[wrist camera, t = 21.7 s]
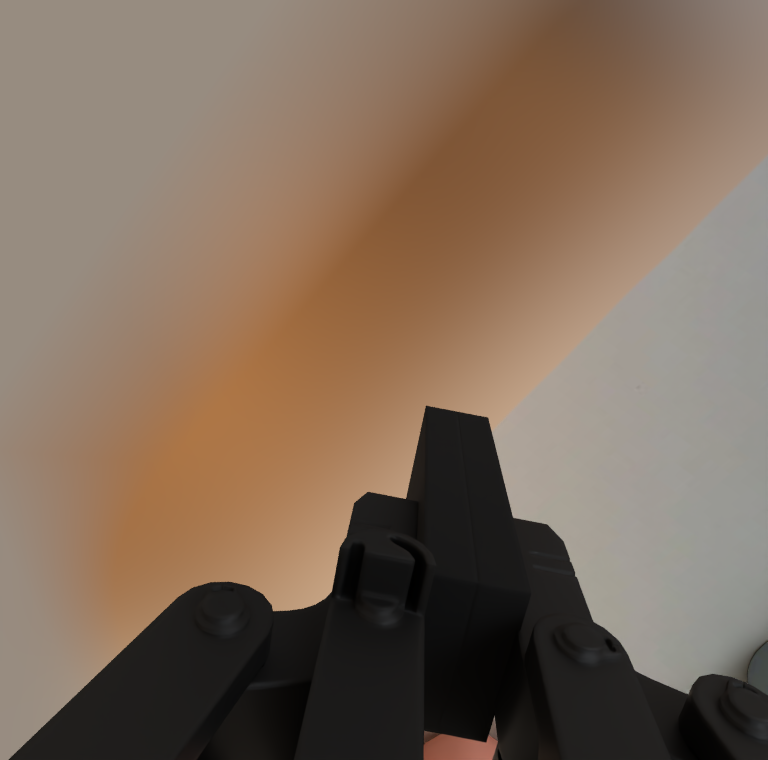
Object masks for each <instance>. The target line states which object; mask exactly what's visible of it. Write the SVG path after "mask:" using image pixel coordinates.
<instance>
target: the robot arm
mask: <svg viewBox="0 0 768 760" xmlns="http://www.w3.org/2000/svg"><path fill="white" fill-rule="evenodd" d="M494 715H495V722H496V730H497V738H498V743H497V746H496V749H495V753H494V756H493V759H492V760H768V695H766V694H765V693H763V692H762V691H760V690H759V689H757V688H756V687H754V686H752V685H750V684H748V683H746V682H742V681H740V680H738V679H735V678H733V677H728V676H722V675H716V674H711V675H706V676H701V677H699V678H698V679H697V680H696V682H695V683H694V684H693V685H692V687H691V690H690V692H689V694H685V693H683V692H681V691H678V690H676V689H674V688H671V687H669V686H666V685H664V684H662V683H659V682H657V681H655V680H652V679H650V678H648V677H646V676H644V675H642V674H640V673H638V672H636V671H635V670H634V668H633V666H632V663H631V661H630V659H629V656H628V654H627V653H626V651H625V649H624V648H623V646H622V645H621V643H620V642H619V641H618V640H617V639H616V638H615V637H614V636H613V635H612V634H610V633H609V632H608V631H607V630H606V629H605V628H603V627H601V626H599V625H597V624H596V623H594V622H593V620H592V617H591V614H590V612H589V609H588V606H587V604H586V601H585V598H584V596H583V593H582V590H581V588H580V585H579V582H578V579H577V577H575V571H574V569H573V566H572V563H571V562H570V558H569V555H568V552H567V550H566V547H565V544H564V542H563V541H562V539H561V538H560V537H559V536H558V535H557V534H556V533H555V532H554V531H553V530H552V529H551V528H550V527H549V526H548V525H547V524H542V523H537V522H532V521H526V520H521V519H516V518H513V516H512V512H511V508H510V504H509V500H508V496H507V492H506V488H505V484H504V480H503V476H502V472H501V468H500V464H499V460H498V456H497V452H496V448H495V444H494V440H493V436H492V431H491V428H490V424H489V419H488V418H487V417H482V416H477V415H472V414H466V413H461V412H455V411H450V410H446V409H440V408H435V407H430V406H426V408H425V413H424V418H423V422H422V427H421V432H420V436H419V441H418V446H417V450H416V455H415V460H414V465H413V469H412V474H411V479H410V483H409V488H408V493H407V498H406V499H403V498H397V497H392V496H387V495H382V494H376V493H371V492H367V493H366V494H365V495H364V496H362V497H361V498H360V499H359V500H358V501H356V502H355V503H354V507H353V511H352V515H351V520H350V525H349V529H348V533H347V537H346V539H345V540H344V542H343V543H342V545H341V547H340V551H339V556H338V562H337V567H336V573H335V578H334V584H333V589H332V592H331V593H330V594H329V595H328V596H327V598H326V599H324V600H322V601H321V602H319V603H317V604H316V605H313V606H310V607H307V608H304V609H298V610H290V611H273V610H272V605H271V604H270V603H269V602H268V600H267V599H266V598H265V596H264V595H263V594H261V593H260V592H258V591H256V590H254V589H253V588H250V587H249V586H246V585H242V584H237V583H233V582H210V583H207V584H204V585H201V586H197V587H193V588H191V589H190V590H189V591H187V592H186V593H184V594H182V595H181V596H179V597H178V598H177V599H176V600H175V601H174V602H173V603H172V604H170V606H169V607H167V609H165V610H164V611H163V612H162V613H161V614H160V615H159V616H158V617H157V618H156V619H155V620H154V621H153V622H152V623H151V624H150V625H149V626H148V627H147V628H146V629H144V630H143V631H142V632H141V633H140V634H139V635H138V636H137V637H136V638H135V639H134V640H133V641H132V642H131V643H130V644H129V645H128V646H127V647H126V648H125V649H124V650H122V651H121V652H120V653H119V654H118V655H117V656H116V657H115V658H114V659H113V660H112V661H111V662H110V663H109V664H108V665H107V666H106V667H105V668H104V669H103V670H102V671H101V672H100V673H98V674H97V675H96V676H95V677H94V678H93V679H92V680H91V681H90V682H89V683H88V684H87V685H86V686H85V687H84V688H83V689H82V690H81V691H80V692H79V693H78V694H77V695H76V696H75V697H74V698H72V699H71V700H70V701H69V702H68V703H67V704H66V705H65V706H64V707H63V708H62V709H61V710H60V711H59V712H58V713H57V714H56V715H55V716H54V717H53V718H52V719H50V721H48V722H47V723H46V724H45V725H44V726H43V727H42V728H41V729H40V730H39V731H38V732H37V733H36V734H35V735H34V736H33V737H32V738H31V739H30V740H29V741H27V742H26V743H25V744H24V745H23V746H22V747H21V748H20V749H19V750H18V751H17V752H16V753H15V754H14V755H13V756H12V757H11V758H10V759H9V760H424V730H425V731H430V732H435V733H440V734H445V735H450V736H455V737H460V738H465V739H470V740H475V741H480V742H485V743H486V742H487V739H488V735H489V732H490V729H491V725H492V722H493V719H494Z"/></svg>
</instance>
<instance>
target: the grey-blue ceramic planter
mask: <svg viewBox="0 0 768 760" xmlns="http://www.w3.org/2000/svg"><path fill="white" fill-rule="evenodd" d="M747 678H748V684H750V685H752V686H754V687H756V688H757V689H759V690H760V691H762V692H763V693H765V694H766V695H768V642H767V643H765V644H764V645H763V646H762V647H761V648H760V649H759V650H758V651H757V652H756V654H755V655H754V657H753V658H752V660H751V662H750V665H749V668H748V674H747Z"/></svg>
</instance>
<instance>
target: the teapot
mask: <svg viewBox="0 0 768 760" xmlns="http://www.w3.org/2000/svg"><path fill="white" fill-rule="evenodd" d="M497 743H498V741H496V740H495V739H494V738H492V737H491V736H489V735H488V739H487V742H486V743H485V742H480V741H475V740H470V739H465V738H460V737H455V736H450V735H445V734H440V735H438V736H436V737H435V738H433V739H431V740H430V741H428V742H426V743H425V744H424V760H492V759H493V756H494V753H495V749H496V746H497Z"/></svg>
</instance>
